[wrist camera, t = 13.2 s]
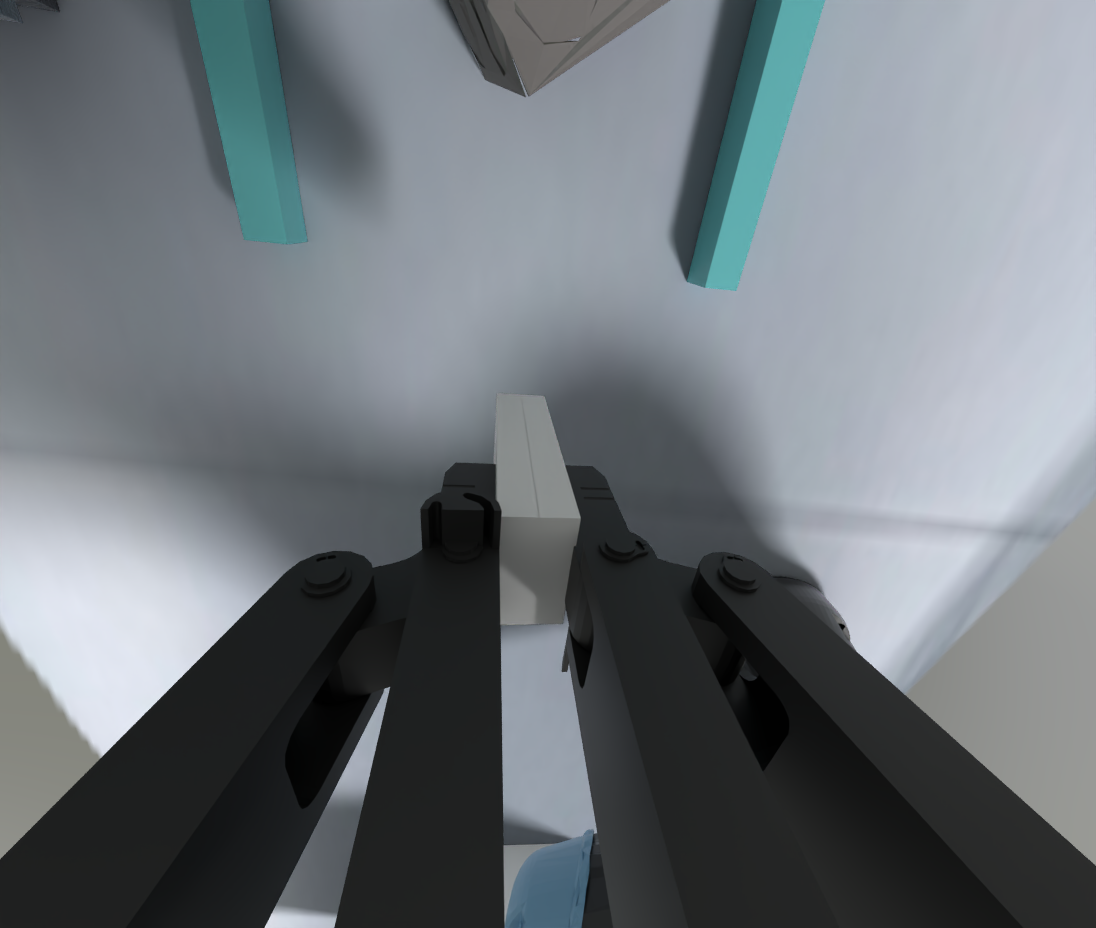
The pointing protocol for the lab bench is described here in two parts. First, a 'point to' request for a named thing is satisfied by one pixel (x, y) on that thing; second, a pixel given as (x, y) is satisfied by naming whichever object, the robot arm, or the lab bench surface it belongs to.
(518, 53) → the electrical switch
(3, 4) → the control unit
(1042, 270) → the lab bench surface
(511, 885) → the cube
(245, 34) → the teal bay
